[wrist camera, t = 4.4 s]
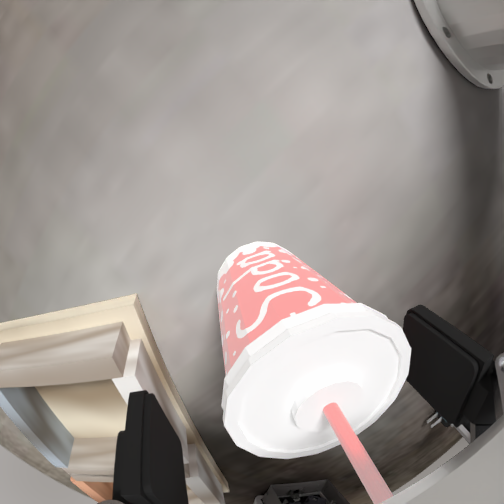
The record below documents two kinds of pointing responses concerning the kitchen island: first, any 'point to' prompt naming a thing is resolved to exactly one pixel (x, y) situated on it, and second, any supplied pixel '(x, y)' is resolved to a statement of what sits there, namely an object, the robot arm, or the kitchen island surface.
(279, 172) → the kitchen island surface
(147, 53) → the kitchen island surface
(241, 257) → the beverage cup
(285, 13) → the kitchen island surface
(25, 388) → the socket board
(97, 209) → the kitchen island surface
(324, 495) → the electrical switch
